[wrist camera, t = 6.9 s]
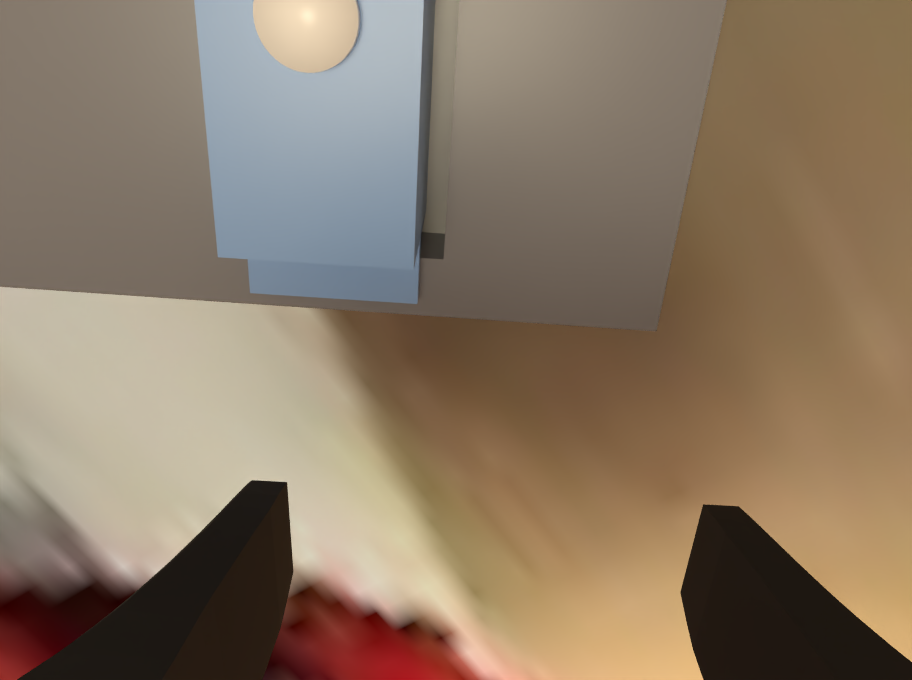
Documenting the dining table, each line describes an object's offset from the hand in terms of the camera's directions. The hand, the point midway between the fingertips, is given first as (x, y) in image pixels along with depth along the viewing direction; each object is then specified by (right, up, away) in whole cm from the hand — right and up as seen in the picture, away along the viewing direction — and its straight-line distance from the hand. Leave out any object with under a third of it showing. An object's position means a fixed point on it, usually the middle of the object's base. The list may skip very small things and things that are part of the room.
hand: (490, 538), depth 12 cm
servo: (-3, +10, +5) cm, 11 cm away
